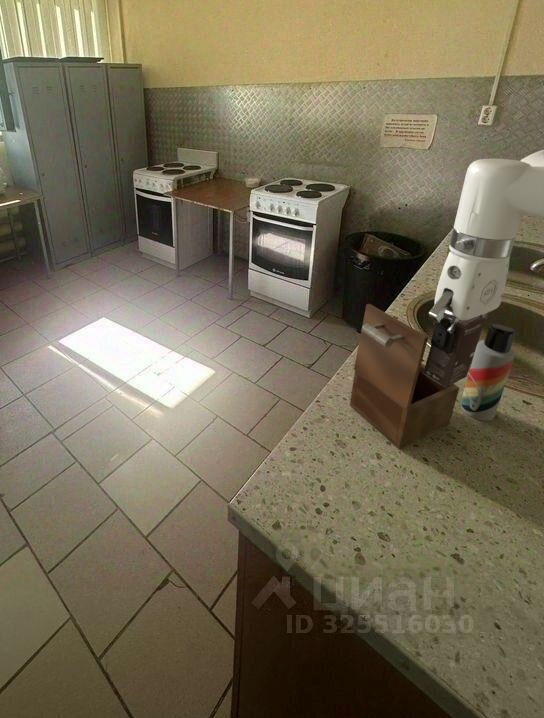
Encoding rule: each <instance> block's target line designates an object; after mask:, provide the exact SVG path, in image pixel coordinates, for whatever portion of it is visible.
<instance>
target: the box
mask: <svg viewBox="0 0 544 718" xmlns="http://www.w3.org/2000/svg"><path fill="white" fill-rule="evenodd" d="M451 311H453V309H451ZM444 318H445V319H447V320H448V322H449V323H450V322H451V320H452V318H453V317H452V316H450V315H448V314H445V316H444ZM486 320H487V318H486V319H485V318H483V317H481V316H477V317H474V318H472V319H469V320H460V321H459V323H458V325H457V327H456V329H455V331H454V332H456V333H457V335H456V338H455V342H454V346H453V350H452V353H450V354H447V353H445V352H443V351H442V350H440V349H438V348H436V347H435V346H433V345H432V344H431V343H430V348H429V351H428V355H427V357H426V358H427V359H426V362H425V364H424V365H425V369H424V372H423V373H424V374H425V375H426V376H427V377H429V378H430V379H432V380H433V381H435V382H437V383H439V384H440V385H442V386H444V387H446V388H447V387H449V386H451V385H452V384H456V383H458V382H459V381H461V380H463V379H465V378H468V375H469V371H470V368H471V364H472V361H473V357H474V354H475V350H476V347H477V344H478V342H479V341H480V338H479V337H481V335H480V334H482V331H483V328H484V325H485V323H486ZM478 340H479V341H478Z"/></svg>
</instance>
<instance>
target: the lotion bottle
mask: <svg viewBox="0 0 544 718" xmlns="http://www.w3.org/2000/svg"><path fill="white" fill-rule="evenodd" d="M515 336H516V330H515V328H513V327H510V326H508V325H504V324H502V323H498V322H489V324H488V328H487V331H486V334H485V336H484V339H483V340H479V341H478V343H477V346H476V349H475V352H474V356H473V359H472V362H471V365H470V368H469V371H468V374H467V377H466V378H467V379H466V382H465V385H464V389H463V393H462V396H461V400H460V407H461V409H462V411H463V412H464V413H465V414H466V415H468V416H469V417H471V418H473V419H476V420H479V421H483V422H490V421H492V420H494V418H495V416H496V414H497V411H498V408H499V405H500V402H501V399H502V396H503V393H504V390H505V387H506V384H507V382H508V378H509V376H510V372H511V369H512V366H513V363H514V361H515V355H516V354H515V352H514V350H513V349H512V345H513V342H514V338H515Z"/></svg>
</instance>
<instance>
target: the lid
mask: <svg viewBox="0 0 544 718" xmlns="http://www.w3.org/2000/svg"><path fill="white" fill-rule="evenodd" d="M428 340H429V336H428V335H425V334H424V333H422V332H420V331H419V330H417V329H415V328H413V327H412V326H410V325H408V324H406V323H404V322H403V321H401V320H400V319H397V318H395V317H394V316H392V315H390V314H389V313H386V312H385V311H384V310H381V309H379V308H378V307H376V306H374V305H373V304H371V303H367V304H366V306H365V310H364V316H363V321H362V326H361V331H360V335H359V342H358V346H357V351H356V357H355V362H354V366H353V370H354V372H355V371H357V372H358V373H359V374H360V375H362V376H363V377H364V378H366V379H367V380H368V381H369V382H371V383H372V384H373V385H375V386H376V387H377V388H378V389H380V390H381V391H382V392H384V393H385V394H386V395H387V396H389V397H390V398H391V399H393V400H394V401H395V402H396V403H398V404H399V405H400V406H402V407H403V408H404V409H405V410H408V409H409V408H410V404H411V401H412V397H413V393H414V389H415V386H416V382H417V378H418V374H419V371H420V367H421V363H422V364H423V360H424V355H425V352H426V348H427V345H428Z"/></svg>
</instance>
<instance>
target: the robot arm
mask: <svg viewBox="0 0 544 718" xmlns="http://www.w3.org/2000/svg"><path fill="white" fill-rule="evenodd" d="M523 215H528V216H534V217H535V216H536V217H541V218H544V149H542V150H538V151H536V152H533V153H531V154H529V155H527V156H525V157H523V158H522V159H520V160H516V159H508V158H481V159H477V160H473V162H471V163H470V164H469V166H468V167H467V170H466V173H465V177H464V181H463V186H462V189H461V194H460V197H459V203H458V207H457V212H456V215H455V220H454V224H453V228H452V233H451V237H450V241H449V246H448V249H449V250H450V251H449V252H448V255H447V256H446V259H445V263H444V264H443V268H442V270H441V274H440V277H439V279H438V284H437V287H436V290H435V295H434V305H433V306H432V308H431V309H430V310H429V312H428V316H429V318H431V321H432V324H433V326H434V327H433V332H432V336H431V339H430V345H431V344H432V345H433V346H435V347H436V348H438V349H440V350H442V351H443V352H445V353H447V354H450V353H452V350H453V346H454V342H455V338H456V335H457V333H456V332H454V331H455V329H456V327H457V325H458V323H459V321H460V320H469V319H472V318H474V317H477V316H481V317H483V318H485V319H486V320H487V318H488V313H490V312H493V311H495V310H497V309H498V308H499V307H500V305H501V303H502V300H503V296H504V291H505V287H506V283H507V279H508V274H509V268H510V260H511V259H510V258H511V254H512V252H513V247H514V245H515V241H516V238H517V235H518V232H519V231H518V230H519V227H520V224H521V221H522V217H523ZM449 307H450V308H451V310H453V311H451V310H450V309H449ZM445 314H448V315H450V316H452V317H453V318H452V320H451V322H450V323H449V322H448V320H447V319H445V318H444V316H445ZM481 334H482V333H481ZM481 334H480V337H481V336H482V335H481ZM480 337H479V340H478V342H480Z"/></svg>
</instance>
